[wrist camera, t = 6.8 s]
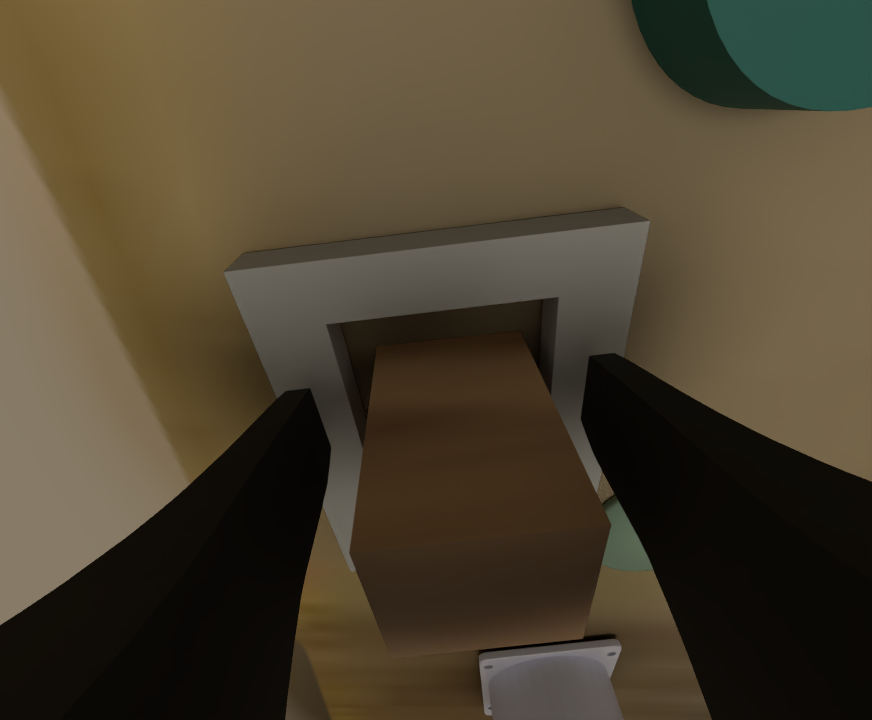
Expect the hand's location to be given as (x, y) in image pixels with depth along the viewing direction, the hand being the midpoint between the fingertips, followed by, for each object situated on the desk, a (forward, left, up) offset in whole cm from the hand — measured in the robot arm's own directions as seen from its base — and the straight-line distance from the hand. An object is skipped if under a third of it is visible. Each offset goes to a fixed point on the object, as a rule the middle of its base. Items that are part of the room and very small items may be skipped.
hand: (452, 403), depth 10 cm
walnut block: (-1, 0, -2) cm, 2 cm away
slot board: (-2, 0, -2) cm, 3 cm away
